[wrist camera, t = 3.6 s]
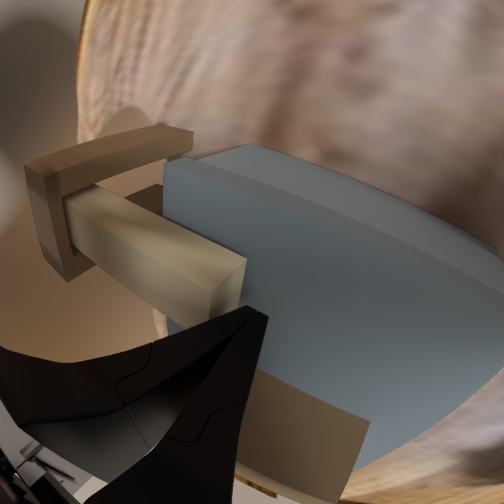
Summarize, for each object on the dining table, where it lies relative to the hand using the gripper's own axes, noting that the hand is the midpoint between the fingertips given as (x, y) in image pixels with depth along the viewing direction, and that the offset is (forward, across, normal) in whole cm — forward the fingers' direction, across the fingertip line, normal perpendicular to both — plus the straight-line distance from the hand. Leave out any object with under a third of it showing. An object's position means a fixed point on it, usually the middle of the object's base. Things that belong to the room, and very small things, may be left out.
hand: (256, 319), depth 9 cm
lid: (+3, -2, +6) cm, 7 cm away
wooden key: (+1, +6, 0) cm, 6 cm away
